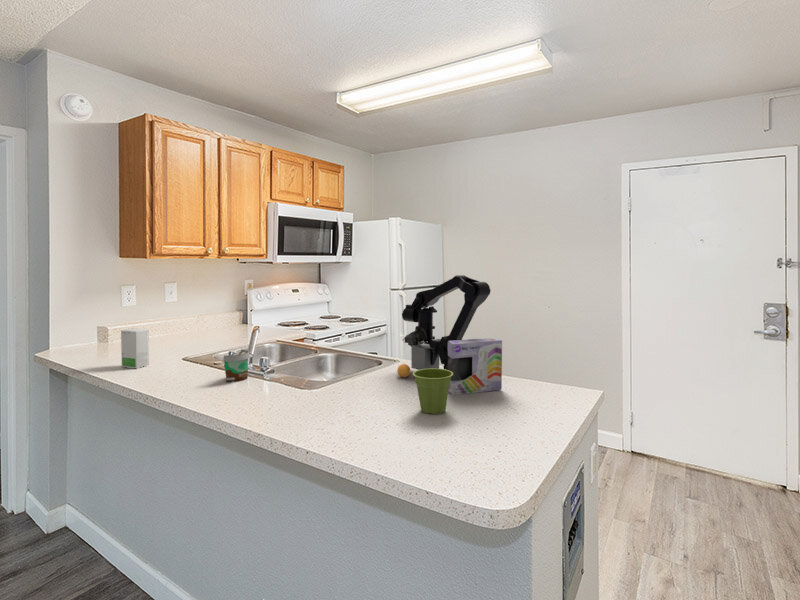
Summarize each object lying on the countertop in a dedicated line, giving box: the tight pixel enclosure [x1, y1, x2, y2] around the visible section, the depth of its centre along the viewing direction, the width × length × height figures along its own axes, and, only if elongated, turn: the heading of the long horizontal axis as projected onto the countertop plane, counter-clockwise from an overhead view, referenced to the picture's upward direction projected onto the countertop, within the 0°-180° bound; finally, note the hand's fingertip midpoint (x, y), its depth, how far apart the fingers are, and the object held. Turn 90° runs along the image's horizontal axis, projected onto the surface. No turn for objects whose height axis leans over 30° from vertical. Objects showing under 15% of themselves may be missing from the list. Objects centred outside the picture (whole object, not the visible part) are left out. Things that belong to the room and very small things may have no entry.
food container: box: [222, 349, 251, 383], centre depth 165 cm, size 12×6×10 cm, turn 168°
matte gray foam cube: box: [410, 343, 440, 371], centre depth 175 cm, size 8×8×9 cm
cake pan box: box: [447, 337, 503, 396], centre depth 149 cm, size 19×5×18 cm, turn 105°
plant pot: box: [412, 368, 453, 415], centre depth 130 cm, size 12×12×11 cm
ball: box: [396, 363, 411, 378], centre depth 168 cm, size 5×5×5 cm
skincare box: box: [120, 327, 150, 369], centre depth 185 cm, size 8×7×16 cm
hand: (425, 363), depth 175 cm, fingers closed on matte gray foam cube, 8 cm apart
